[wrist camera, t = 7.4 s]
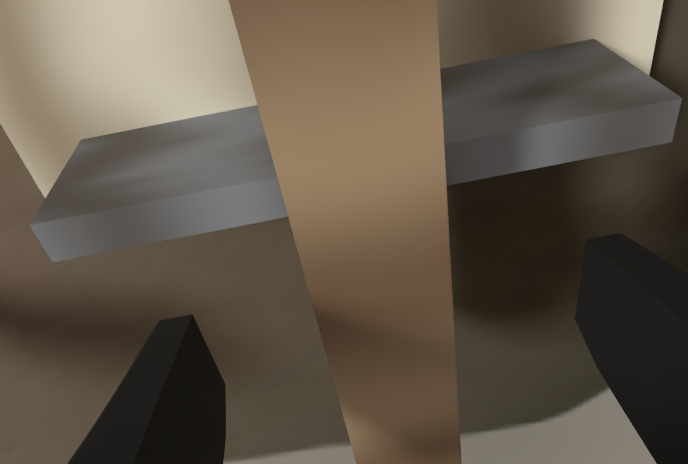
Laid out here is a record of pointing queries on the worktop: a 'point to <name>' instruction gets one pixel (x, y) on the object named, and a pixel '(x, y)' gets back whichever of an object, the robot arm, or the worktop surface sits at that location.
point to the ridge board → (245, 121)
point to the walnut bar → (366, 206)
